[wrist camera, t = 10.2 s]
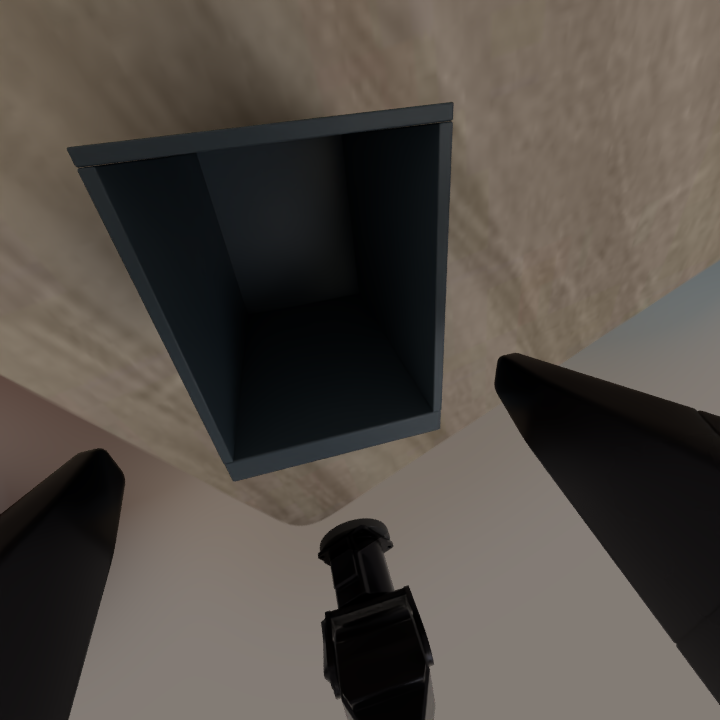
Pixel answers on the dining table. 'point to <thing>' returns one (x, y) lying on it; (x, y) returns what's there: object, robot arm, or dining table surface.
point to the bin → (291, 274)
